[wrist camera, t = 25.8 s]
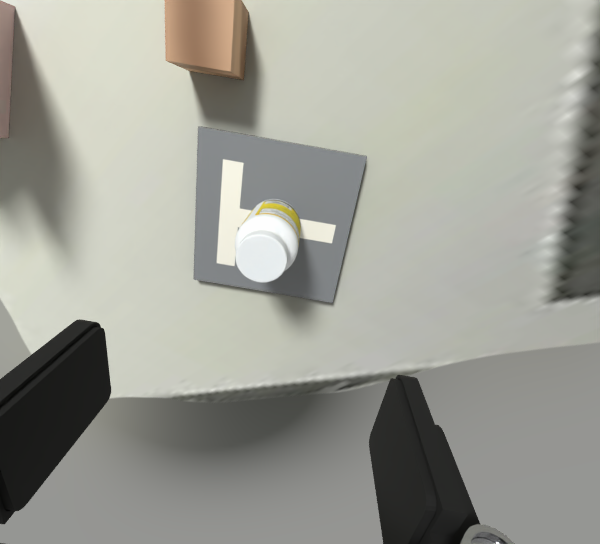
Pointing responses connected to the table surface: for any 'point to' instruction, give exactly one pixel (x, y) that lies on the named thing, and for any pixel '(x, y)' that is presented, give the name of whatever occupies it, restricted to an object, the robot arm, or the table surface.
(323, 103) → the table surface
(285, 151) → the letter pad
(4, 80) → the greeting card
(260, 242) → the supplement bottle
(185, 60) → the covering block
